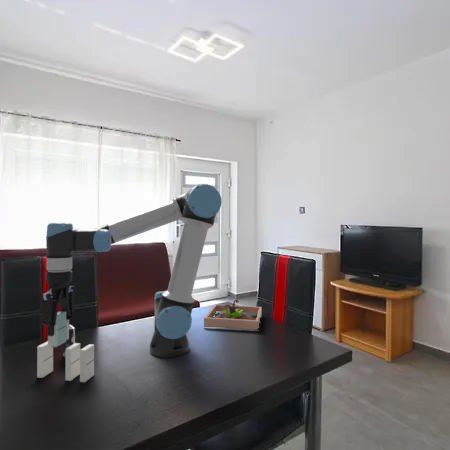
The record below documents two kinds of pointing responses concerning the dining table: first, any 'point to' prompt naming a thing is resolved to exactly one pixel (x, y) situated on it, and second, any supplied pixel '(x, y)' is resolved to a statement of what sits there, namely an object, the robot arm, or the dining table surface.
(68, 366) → the domino
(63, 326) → the domino
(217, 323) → the planter corral
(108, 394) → the dining table surface
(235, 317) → the plant
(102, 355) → the dining table surface
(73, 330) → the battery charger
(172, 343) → the robot arm
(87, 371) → the domino
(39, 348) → the end domino
